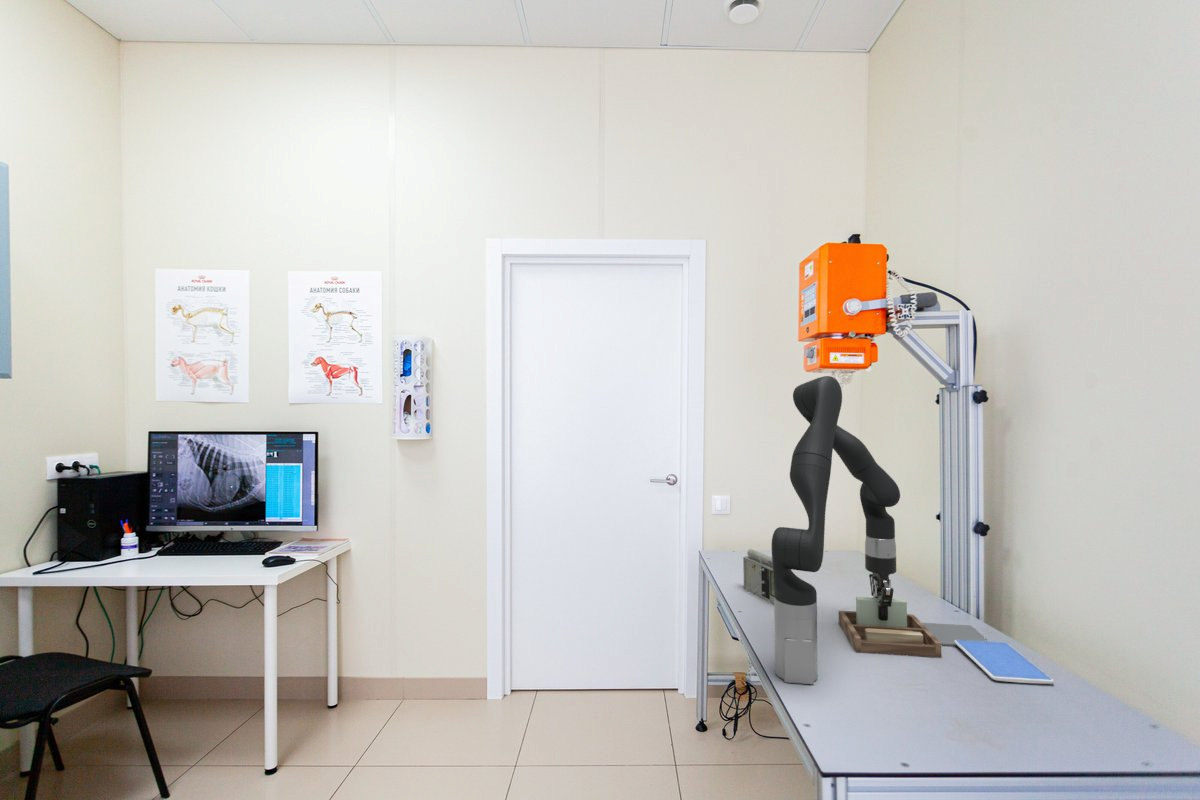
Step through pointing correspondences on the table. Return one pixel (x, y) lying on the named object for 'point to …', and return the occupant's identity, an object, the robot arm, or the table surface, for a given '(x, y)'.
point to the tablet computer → (1003, 662)
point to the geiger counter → (759, 575)
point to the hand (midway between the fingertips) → (881, 617)
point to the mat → (953, 633)
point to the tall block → (869, 612)
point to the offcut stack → (893, 636)
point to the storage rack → (857, 633)
